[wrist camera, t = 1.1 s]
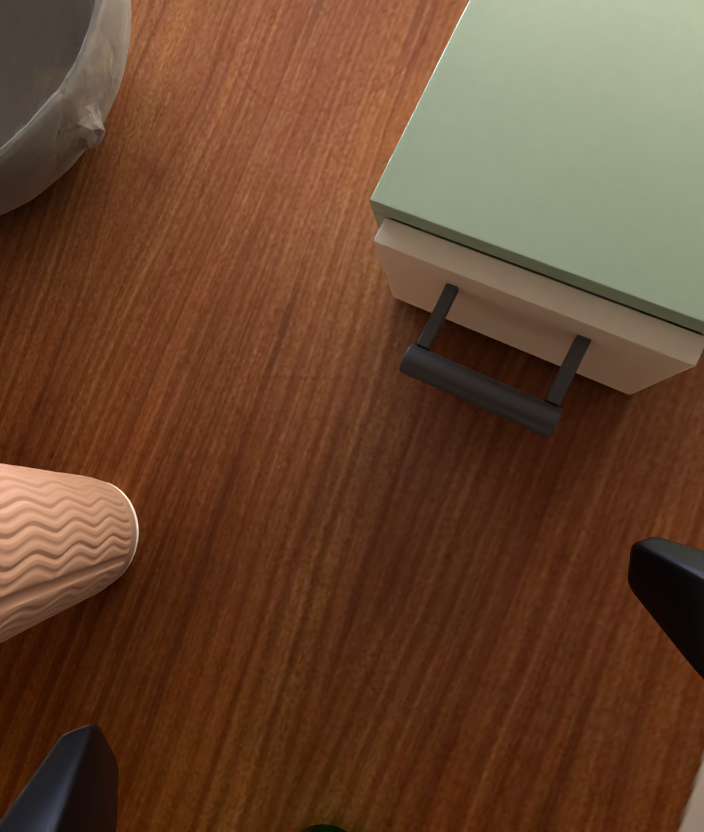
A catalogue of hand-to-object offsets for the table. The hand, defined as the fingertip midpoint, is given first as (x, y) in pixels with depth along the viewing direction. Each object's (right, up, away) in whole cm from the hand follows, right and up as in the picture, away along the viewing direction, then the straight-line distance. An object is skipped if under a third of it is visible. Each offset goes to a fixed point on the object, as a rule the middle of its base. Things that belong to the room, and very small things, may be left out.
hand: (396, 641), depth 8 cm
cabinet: (+12, +15, +20) cm, 27 cm away
